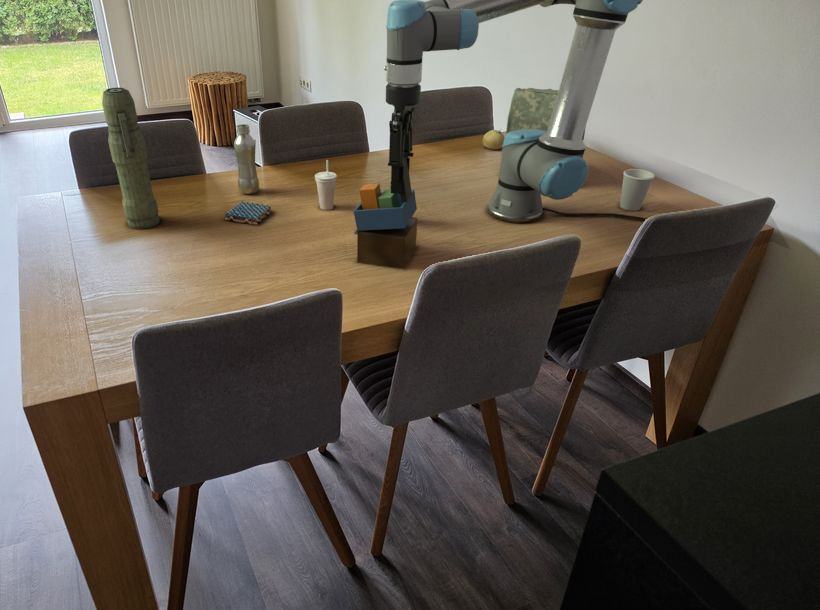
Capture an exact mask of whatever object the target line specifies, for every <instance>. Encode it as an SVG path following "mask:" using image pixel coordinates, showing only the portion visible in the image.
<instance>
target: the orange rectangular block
mask: <svg viewBox="0 0 820 610" xmlns="http://www.w3.org/2000/svg"><path fill="white" fill-rule="evenodd" d="M381 192H382V190H381V184H380V183H368V184H363V185H362V186H361V187H360V188H359V190H358V193H359V197H360V203H362V209H363V210H368V209H380V205H379V200H378V198H379V197H380V196H381Z"/></svg>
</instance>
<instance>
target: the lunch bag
mask: <svg viewBox="0 0 820 610" xmlns="http://www.w3.org/2000/svg"><path fill="white" fill-rule="evenodd" d="M513 91H514V92H513V94H512V98H511V102H510V105H509V106H510V107H509V110H508V115H507V123H506V130H505V135H506V134H507V133H509V132H510V131H514V130H522V129H536V130H544V131H547V130H548V127H549V123H550V120H551V116H552V112H553V109H554V105H555V102H556V98H557V95H558V91H559V89H552V88H542V89H541V88H534V87H528V88H521V87H516V88H515V89H514V90H513ZM586 129H587V126H586V127H585V130H584V133H583V137H582V140H583V141H584V139H585V134H586Z"/></svg>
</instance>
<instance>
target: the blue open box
mask: <svg viewBox="0 0 820 610" xmlns="http://www.w3.org/2000/svg"><path fill="white" fill-rule="evenodd" d="M403 165H404V176H403V194H398V195H399V201H400V207H397V208H382V209H368V210H363V209H362V203H361V202H359V204H358V205H357V206H356V207H355V209H354V210H353V216H354V222H355V226H356V227H355V228H356V230H358V231H363V230H381V229H399V228H406V226H407V224H408V223H409V221H410V219H411V218H412V217H414V215H415V213H416V211H417V209H418V207H417V200H416V192H415V189H412V185H411V177H410V168H409V169H408V162H407V157H405V158H403ZM383 192H384V191H381V194H382V193H383Z"/></svg>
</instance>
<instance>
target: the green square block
mask: <svg viewBox="0 0 820 610" xmlns="http://www.w3.org/2000/svg"><path fill="white" fill-rule="evenodd" d="M382 192H383V193H382V194H381V196H380V197H379V198H378V200H379V205H380V209H382V208H397V207H400V201H399V195H398V194H394V193H391V189H390V188H388V189H387V188H386V189H384V190H383V191H382Z"/></svg>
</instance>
